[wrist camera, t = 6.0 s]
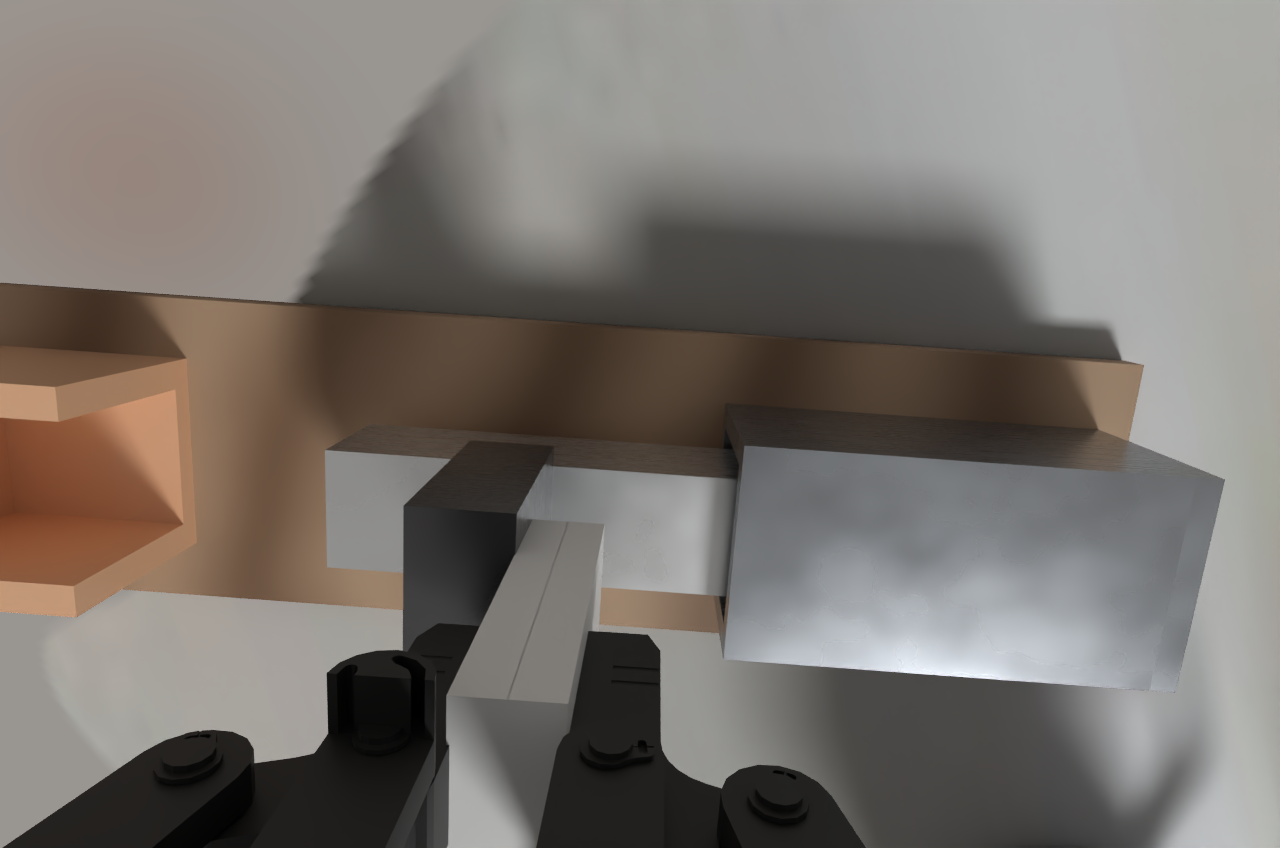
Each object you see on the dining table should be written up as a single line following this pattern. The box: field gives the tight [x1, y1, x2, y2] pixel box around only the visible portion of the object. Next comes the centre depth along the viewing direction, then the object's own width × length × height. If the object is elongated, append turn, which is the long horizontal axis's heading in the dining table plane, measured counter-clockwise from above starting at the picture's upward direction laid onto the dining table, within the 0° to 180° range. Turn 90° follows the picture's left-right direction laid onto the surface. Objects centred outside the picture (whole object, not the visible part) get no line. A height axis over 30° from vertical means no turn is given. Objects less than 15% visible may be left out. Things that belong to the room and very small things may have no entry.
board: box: [0, 283, 1144, 633], centre depth 23 cm, size 33×9×1 cm, turn 86°
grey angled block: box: [325, 424, 739, 652], centre depth 18 cm, size 16×4×8 cm, turn 86°
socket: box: [0, 345, 197, 617], centre depth 21 cm, size 6×6×5 cm
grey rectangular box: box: [713, 403, 1225, 693], centre depth 20 cm, size 11×5×5 cm, turn 86°
